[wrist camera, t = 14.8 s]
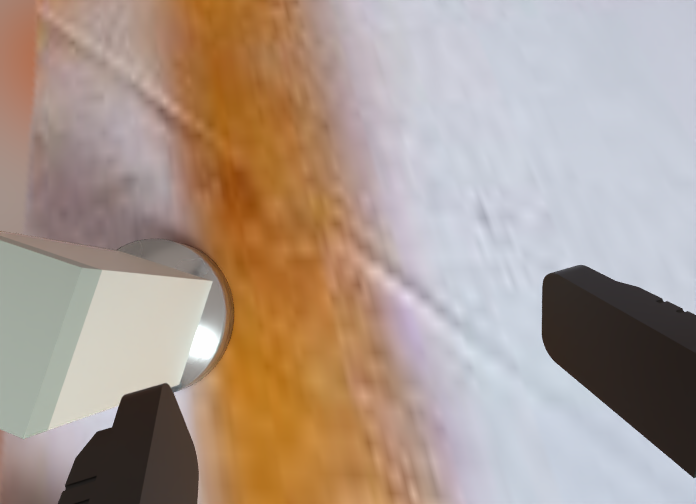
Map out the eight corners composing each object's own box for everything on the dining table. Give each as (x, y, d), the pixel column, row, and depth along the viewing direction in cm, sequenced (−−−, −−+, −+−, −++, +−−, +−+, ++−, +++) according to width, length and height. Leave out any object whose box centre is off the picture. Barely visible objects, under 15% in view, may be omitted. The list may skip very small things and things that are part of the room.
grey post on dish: (124, 224, 28) (20, 197, 21) (254, 266, 26) (191, 253, 19) (76, 362, 28) (-49, 385, 20) (205, 414, 26) (121, 459, 19)
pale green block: (121, 251, 26) (-56, 221, 16) (212, 281, 25) (81, 267, 15) (88, 350, 26) (-114, 380, 16) (179, 384, 25) (23, 439, 15)
